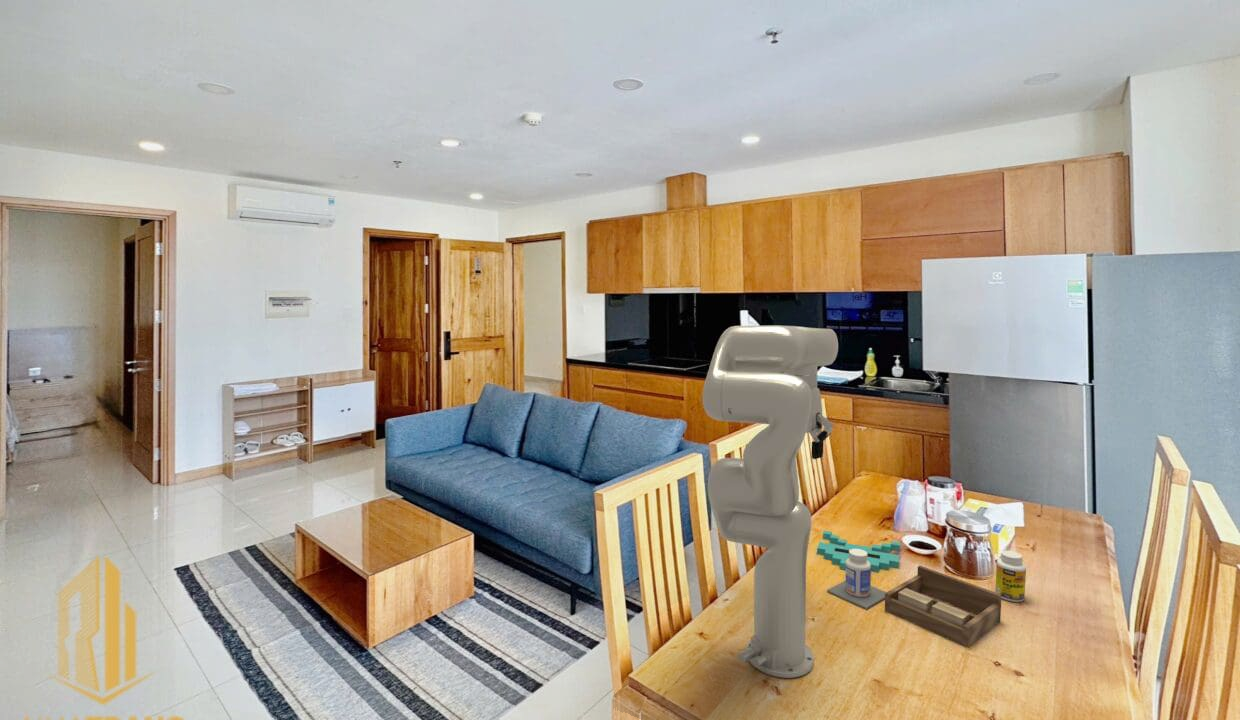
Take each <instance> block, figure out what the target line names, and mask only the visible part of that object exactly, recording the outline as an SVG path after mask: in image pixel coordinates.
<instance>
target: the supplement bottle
mask: <svg viewBox="0 0 1240 720" xmlns="http://www.w3.org/2000/svg"><path fill="white" fill-rule="evenodd" d="M1026 578H1027V566H1026V564H1025V563H1023V555H1022V554H1020V553H1019V552H1017V551H1012V550H1002V551H1001V553H1000V558H998V559H997V560H996V570H995V585H994V586H995V588H994V590H995V591H994V592H995V593H998V594H1001V600H1005V601H1009V602H1011V603H1020V602H1023V601H1024V600H1025V597H1026V596H1025V594H1026Z"/></svg>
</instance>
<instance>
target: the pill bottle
mask: <svg viewBox="0 0 1240 720" xmlns="http://www.w3.org/2000/svg"><path fill="white" fill-rule="evenodd" d="M867 558H868V555H867V552H866V551H864V550H861V549H851V550H849V558H848V559H847V560H846V570H845V581H846V591H847V592H848V593H849V594H851V595H853V596H857V597H866V596H868V595H870V591H871V586H872V585H871V579H872V578H871V577H872V576H871V574H872V571H871V565H870V563H869V561H867Z"/></svg>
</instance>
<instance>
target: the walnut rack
mask: <svg viewBox="0 0 1240 720" xmlns="http://www.w3.org/2000/svg"><path fill="white" fill-rule="evenodd" d="M905 588H906V589H909V590H911V591H914V592H916V593H919V594H921V595H924V596H926V597H929V598H932V599H933V605H934V604H936V603H938V602H941V603H944V604H946V605H949V606H952V607H954V608H957V609H959V610H962V611H964V612H967V613H969V614H970V618H969V622H967V623H966V624H965V625H963V628H962V627H960V626H957V625H955V624H952V623H950V622H948V621H945V620H943V619H941V618H938V617H936V616H933V615H931V614H929V613H926V612H924V611H922V610H919V609H917V608H914V607H912V606H910V605H907V604H905V603H903V602H900V601H898V592H900V591H902V590H903V589H905ZM885 592H886V593H885V600H884V611H885V612H886V613H887V612H888V613H889V614H892V615H895V616H897V617H898V618H900V619H904V620H905V621H907V622H910V623H912V624H914V625H916V626H918V627H921V628H924V629H925V630H928V631H930V632H933V633H935V634H937V635H939V636H941V637H943V638H946V639H947V640H951V641H953V642H954V643H957V644H959V645H962V646H964V647H966V648H969V647H971V645H973V644H974V643H975V642H976V641H978V640H980V639H981V637H983V636H984V635H986V634H987V633H988V632H989V631H991V630H992V629H993V628H995V627H996V626H997V625H998V624H999V623H1000V622H1001V618H1002V617H1001V616H1002V615H1001V613H1002V612H1001V611H1002V598H1001V594H998V593H996V592H995V591H992V590H990V589H986V588H984V587H982V586H979V585H975V584H972V583H969V582H967V581H964V580H962V579H958V578H956V577H954V576H950V575H949V574H945V573H943V572H939V571H937V570H934V569H931V568H928V567H926V566H922V565H918V566H917V574H916V575H915V576H913V577H911V578H909V579H907V580H906V581H904V582H902V583H901V584H899V585H897V586H895V587H894V588H891V589H890V590H888V591H885Z"/></svg>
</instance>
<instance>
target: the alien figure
mask: <svg viewBox="0 0 1240 720" xmlns="http://www.w3.org/2000/svg"><path fill="white" fill-rule="evenodd" d="M825 539H826V541H829V543H828V542H822V541H819V542H818V545H817V547H816V555H818V554H819V556H824V557H823V559H824V560H827V561H831V564H832V565H835V566H839V570H841V571H846V560H847V559H848V558H849V550H851V549H861V550H864V551H866V552H867V555H868V558H867V561H869V563H870V565H871V573H873V572H874V573H879V572H880V570H883V571H889V570H890V569H889V568H893V569H897V570H898V569H899V568H900V567H899V566H900V555H899V554H893V553H891V551H892V552H893V551H894V552H898V553H899V552H901V542H899V541H893V540H891V541H890V543H888V542H887V543H886V542H881V545H879V544H872V546H865V545H861V544H854V543H848V540H847V539H843V538H840V535H837V534H833V531H832V530H831V531H830V530H823V533H822V540H825Z"/></svg>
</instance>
